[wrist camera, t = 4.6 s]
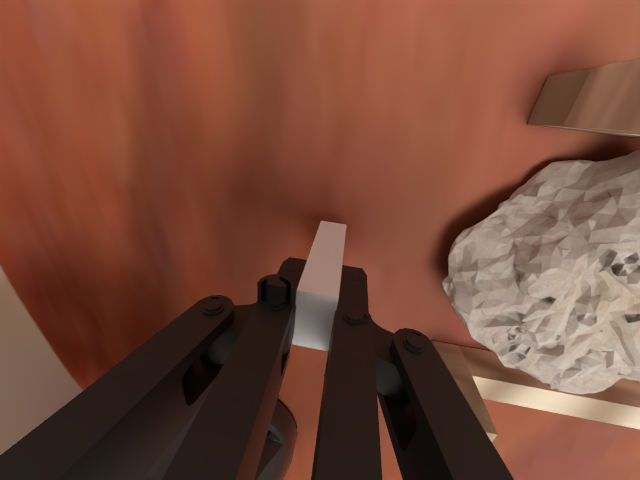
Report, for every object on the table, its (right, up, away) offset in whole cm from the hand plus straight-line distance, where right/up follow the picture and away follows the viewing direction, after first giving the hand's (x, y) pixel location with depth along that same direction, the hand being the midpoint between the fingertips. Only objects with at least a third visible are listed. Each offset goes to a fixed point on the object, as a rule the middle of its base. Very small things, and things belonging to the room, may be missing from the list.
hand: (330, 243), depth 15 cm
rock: (+13, -1, +1) cm, 13 cm away
